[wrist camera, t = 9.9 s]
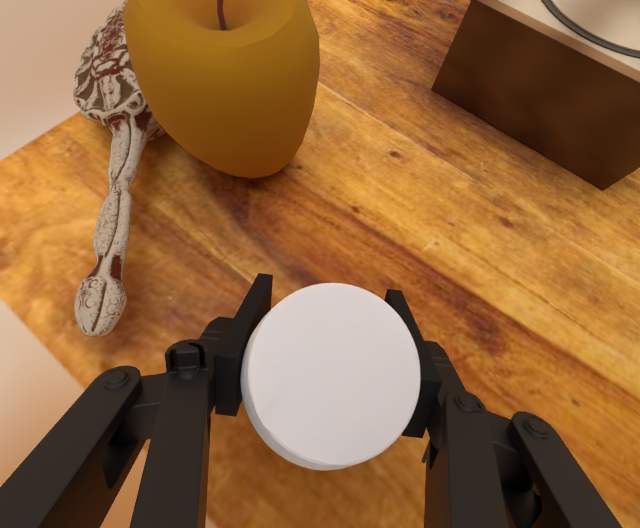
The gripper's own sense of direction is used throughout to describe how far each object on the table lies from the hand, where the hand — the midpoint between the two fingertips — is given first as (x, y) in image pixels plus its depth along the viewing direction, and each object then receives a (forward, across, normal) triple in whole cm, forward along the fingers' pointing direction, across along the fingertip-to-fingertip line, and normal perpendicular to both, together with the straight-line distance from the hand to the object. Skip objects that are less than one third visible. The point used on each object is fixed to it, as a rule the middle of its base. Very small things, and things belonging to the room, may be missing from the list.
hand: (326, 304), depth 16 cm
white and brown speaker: (+23, +21, +15) cm, 35 cm away
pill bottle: (0, 0, -5) cm, 5 cm away
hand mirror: (-1, -13, -4) cm, 13 cm away
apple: (+14, -8, +6) cm, 17 cm away
